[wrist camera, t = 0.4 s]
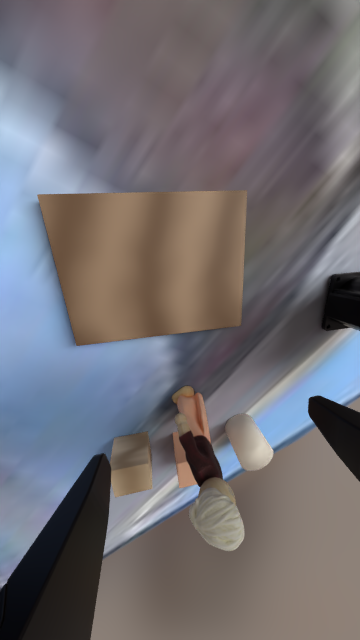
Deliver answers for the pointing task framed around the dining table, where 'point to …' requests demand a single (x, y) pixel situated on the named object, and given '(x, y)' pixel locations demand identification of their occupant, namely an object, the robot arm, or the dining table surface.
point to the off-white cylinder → (248, 442)
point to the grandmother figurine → (206, 476)
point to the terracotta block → (182, 464)
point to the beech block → (131, 464)
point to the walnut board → (148, 261)
